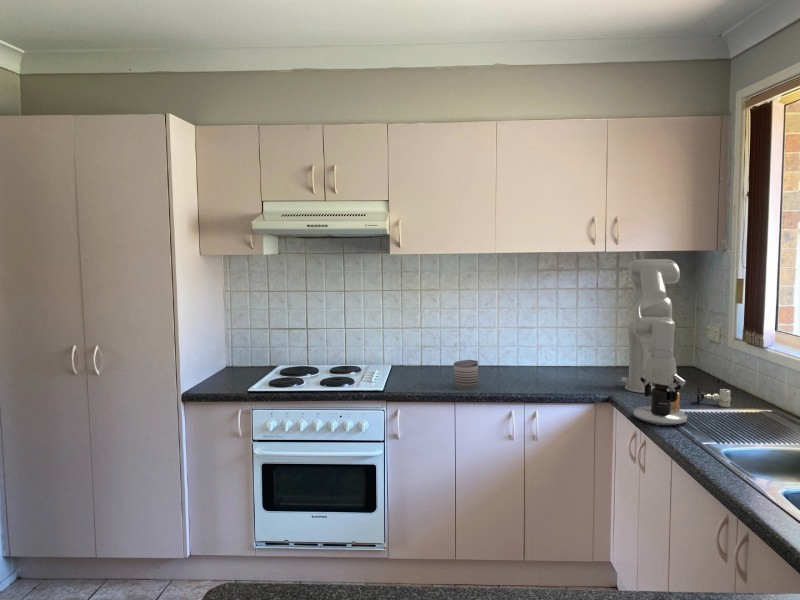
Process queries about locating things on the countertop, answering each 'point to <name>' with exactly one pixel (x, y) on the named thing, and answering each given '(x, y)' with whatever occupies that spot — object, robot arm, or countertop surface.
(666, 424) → the turntable base
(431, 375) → the countertop surface
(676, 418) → the turntable
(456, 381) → the can
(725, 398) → the valve
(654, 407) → the supplement bottle
